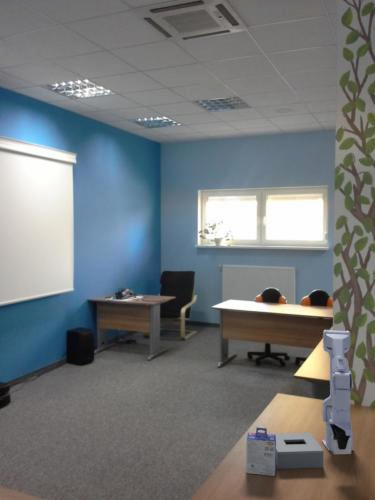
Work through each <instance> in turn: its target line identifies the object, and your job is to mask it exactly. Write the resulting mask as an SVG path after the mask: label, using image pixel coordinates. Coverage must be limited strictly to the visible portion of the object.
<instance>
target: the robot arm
mask: <svg viewBox="0 0 375 500" xmlns="http://www.w3.org/2000/svg"><path fill="white" fill-rule="evenodd" d="M322 344H323V345H322V347H323V348H322V349H323V351H324V352H326V353H328V356H329V396H328V397H327V398H325V399H323V401H322V408H321V409H322V417H321V418H322V421H323V422H324V423H325V439H322V440H321V442H322V443H323V446H325V448H326V449H327V450H328V452H331V437H336V436H337V439H338V447H339V449H340V450H344V449H346V446H347V443H348V440H349V438H351V451H354V447H353V446H354V431H353V426H352V422H351V391H352V390H353V384H354V383H353V381H354V380H353V374H352V372H351V370H350V367H349V360H348V359H347V358H346V357H345V354H347V353H349V350H350V347H351V332H350V331H349V330H336V329H335V330H330V329H324V330H323V332H322Z"/></svg>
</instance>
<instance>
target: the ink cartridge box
mask: <svg viewBox="0 0 375 500" xmlns="http://www.w3.org/2000/svg"><path fill="white" fill-rule="evenodd" d="M259 431H264V432H259ZM273 434H274V433H268V428H266V427H265V428H263V427H256V428H255V432H248V433H247V435H246V474H251V475H253V474H254V475H262V476H269V477H270V476H271V477H275V476H276V470H277V466H276V435H273Z"/></svg>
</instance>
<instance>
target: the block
mask: <svg viewBox="0 0 375 500" xmlns="http://www.w3.org/2000/svg"><path fill="white" fill-rule="evenodd" d="M330 452H331V453H332V454H333V455H351V454H352V450H351V438H349V440H348V443H347V446H346V449H344V450H340V449H339V447H338V439H337V436H336V437H331V451H330Z"/></svg>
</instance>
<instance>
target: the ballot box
mask: <svg viewBox="0 0 375 500" xmlns="http://www.w3.org/2000/svg"><path fill="white" fill-rule="evenodd" d="M272 434H273V435H276V469H278V470H281V469H282V470H283V469H285V470H287V469H289V470H290V469H311V468H312V469H313V468H314V469H315V468H317V469H320V468H321V469H322V468H323V469H324V449H323V448H322V447H321V445H320V444H319V442H318V441H317V439H316V438H315V437H314V436H313V435H314V434H312V432H292V433H291V432H290V433H289V432H288V433H286V432H285V433H284V432H282V433H272Z"/></svg>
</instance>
